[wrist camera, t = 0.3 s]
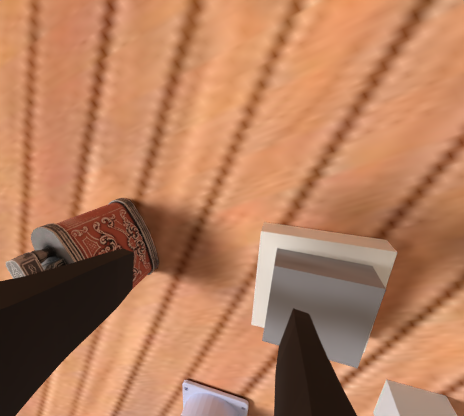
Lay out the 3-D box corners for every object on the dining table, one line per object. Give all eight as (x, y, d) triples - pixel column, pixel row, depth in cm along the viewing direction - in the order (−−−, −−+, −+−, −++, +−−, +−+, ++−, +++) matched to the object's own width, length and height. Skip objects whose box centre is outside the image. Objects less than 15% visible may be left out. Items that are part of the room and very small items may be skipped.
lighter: (106, 202, 22) (-28, 250, 13) (132, 193, 21) (6, 239, 12) (139, 272, 24) (42, 359, 15) (165, 268, 23) (77, 358, 13)
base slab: (356, 327, 20) (364, 353, 18) (255, 304, 22) (251, 324, 20) (383, 236, 17) (397, 252, 15) (265, 219, 19) (261, 231, 17)
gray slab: (349, 337, 17) (357, 368, 15) (266, 315, 19) (262, 340, 17) (372, 266, 15) (386, 289, 13) (276, 247, 17) (274, 265, 14)
